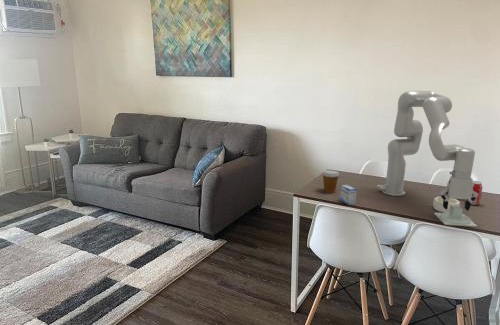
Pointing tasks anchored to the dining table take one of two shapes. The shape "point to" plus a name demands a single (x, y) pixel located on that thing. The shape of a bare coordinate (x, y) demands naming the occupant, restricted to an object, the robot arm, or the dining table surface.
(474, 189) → the soda can
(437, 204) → the bowl
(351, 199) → the medicine box
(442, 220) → the mat
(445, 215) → the lid
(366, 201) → the dining table surface
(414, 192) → the dining table surface
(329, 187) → the disposable coffee cup
